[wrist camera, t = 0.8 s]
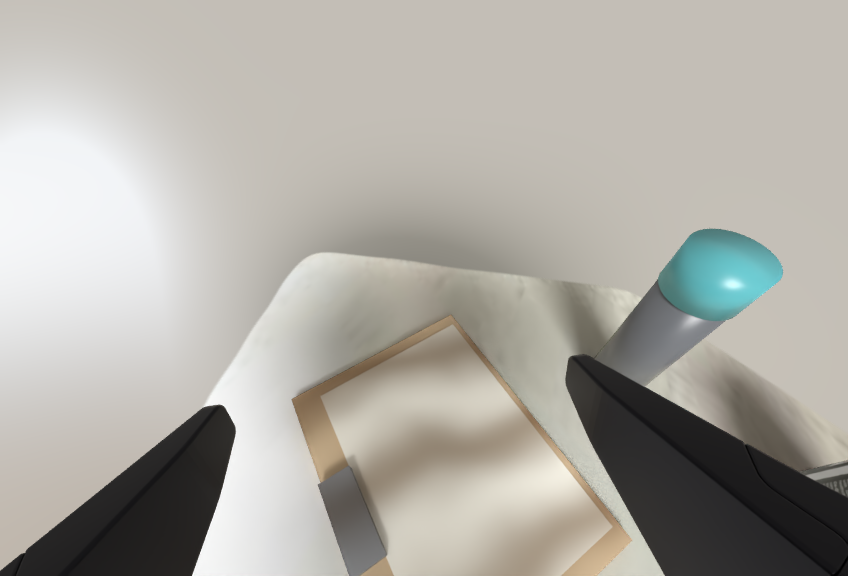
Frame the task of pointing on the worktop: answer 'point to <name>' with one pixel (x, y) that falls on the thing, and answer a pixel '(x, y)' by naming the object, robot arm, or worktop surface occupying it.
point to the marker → (690, 301)
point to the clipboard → (447, 470)
